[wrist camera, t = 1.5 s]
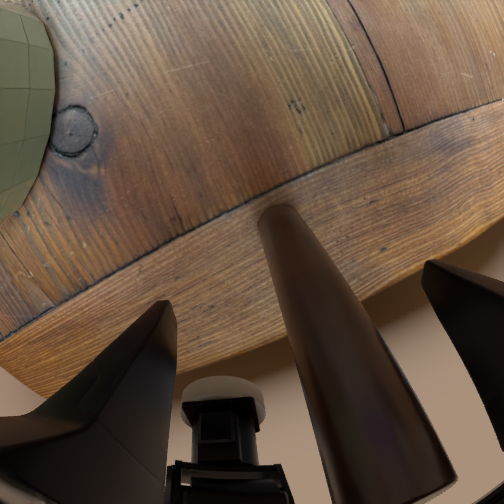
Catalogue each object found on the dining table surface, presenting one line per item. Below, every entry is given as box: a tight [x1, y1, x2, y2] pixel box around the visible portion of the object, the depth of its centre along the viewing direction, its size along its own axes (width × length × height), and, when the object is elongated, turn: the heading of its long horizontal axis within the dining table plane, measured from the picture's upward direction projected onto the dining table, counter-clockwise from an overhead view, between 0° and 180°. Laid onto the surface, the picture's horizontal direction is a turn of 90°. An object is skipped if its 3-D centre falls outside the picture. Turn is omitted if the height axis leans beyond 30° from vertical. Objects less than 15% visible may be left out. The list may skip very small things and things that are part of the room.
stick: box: [258, 204, 458, 504], centre depth 9 cm, size 2×2×13 cm
